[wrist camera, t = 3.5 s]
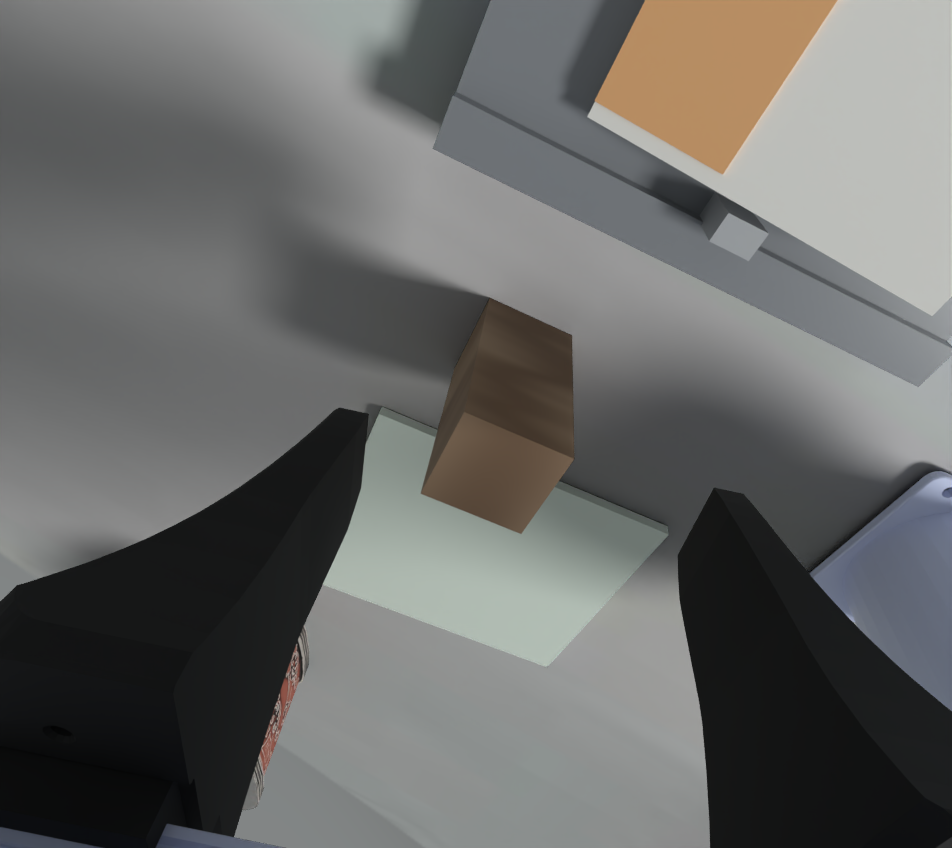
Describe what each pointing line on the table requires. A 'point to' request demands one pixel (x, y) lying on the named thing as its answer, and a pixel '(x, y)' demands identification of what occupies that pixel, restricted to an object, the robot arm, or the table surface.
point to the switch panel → (655, 184)
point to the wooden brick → (505, 420)
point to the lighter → (278, 718)
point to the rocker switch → (806, 122)
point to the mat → (483, 553)
